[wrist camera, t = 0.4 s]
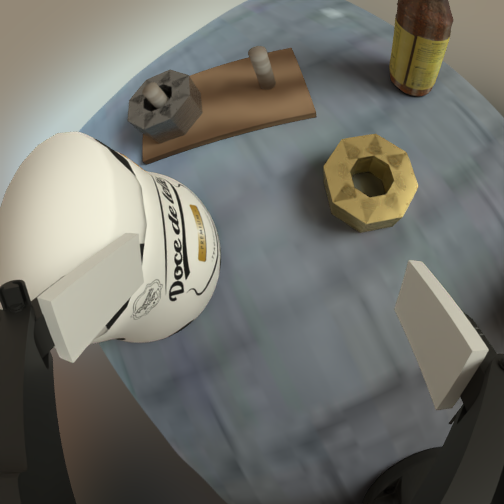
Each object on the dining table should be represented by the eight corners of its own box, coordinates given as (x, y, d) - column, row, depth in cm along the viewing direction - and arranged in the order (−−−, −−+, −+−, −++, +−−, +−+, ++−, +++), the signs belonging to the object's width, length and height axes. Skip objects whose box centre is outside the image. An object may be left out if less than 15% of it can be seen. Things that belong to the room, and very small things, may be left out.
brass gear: (413, 222, 27) (425, 212, 23) (336, 237, 29) (339, 229, 25) (390, 148, 28) (398, 130, 24) (317, 161, 30) (316, 143, 26)
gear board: (316, 117, 31) (313, 79, 24) (146, 164, 35) (115, 142, 28) (292, 52, 33) (284, 16, 26) (147, 97, 37) (122, 72, 30)
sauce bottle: (437, 81, 28) (476, -30, 8) (421, 107, 28) (467, -18, 9) (396, 57, 29) (413, -59, 10) (377, 80, 30) (392, -51, 10)
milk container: (264, 252, 30) (188, 200, 13) (165, 365, 31) (45, 411, 14) (162, 164, 35) (63, 89, 17) (87, 267, 35) (-24, 250, 18)
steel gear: (204, 128, 33) (191, 111, 29) (143, 150, 34) (126, 136, 31) (199, 80, 34) (188, 62, 30) (145, 101, 36) (130, 87, 32)
